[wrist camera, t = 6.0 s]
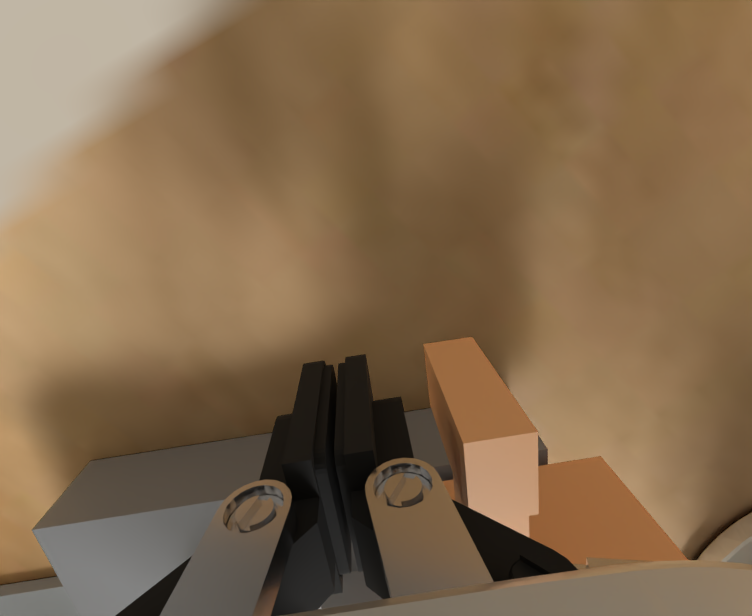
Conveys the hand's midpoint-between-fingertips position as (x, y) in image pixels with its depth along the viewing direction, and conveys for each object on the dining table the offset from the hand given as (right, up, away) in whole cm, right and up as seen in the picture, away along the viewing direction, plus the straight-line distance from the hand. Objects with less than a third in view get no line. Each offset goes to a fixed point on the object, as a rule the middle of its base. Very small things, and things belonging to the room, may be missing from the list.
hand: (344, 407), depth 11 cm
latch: (+6, -3, +3) cm, 7 cm away
